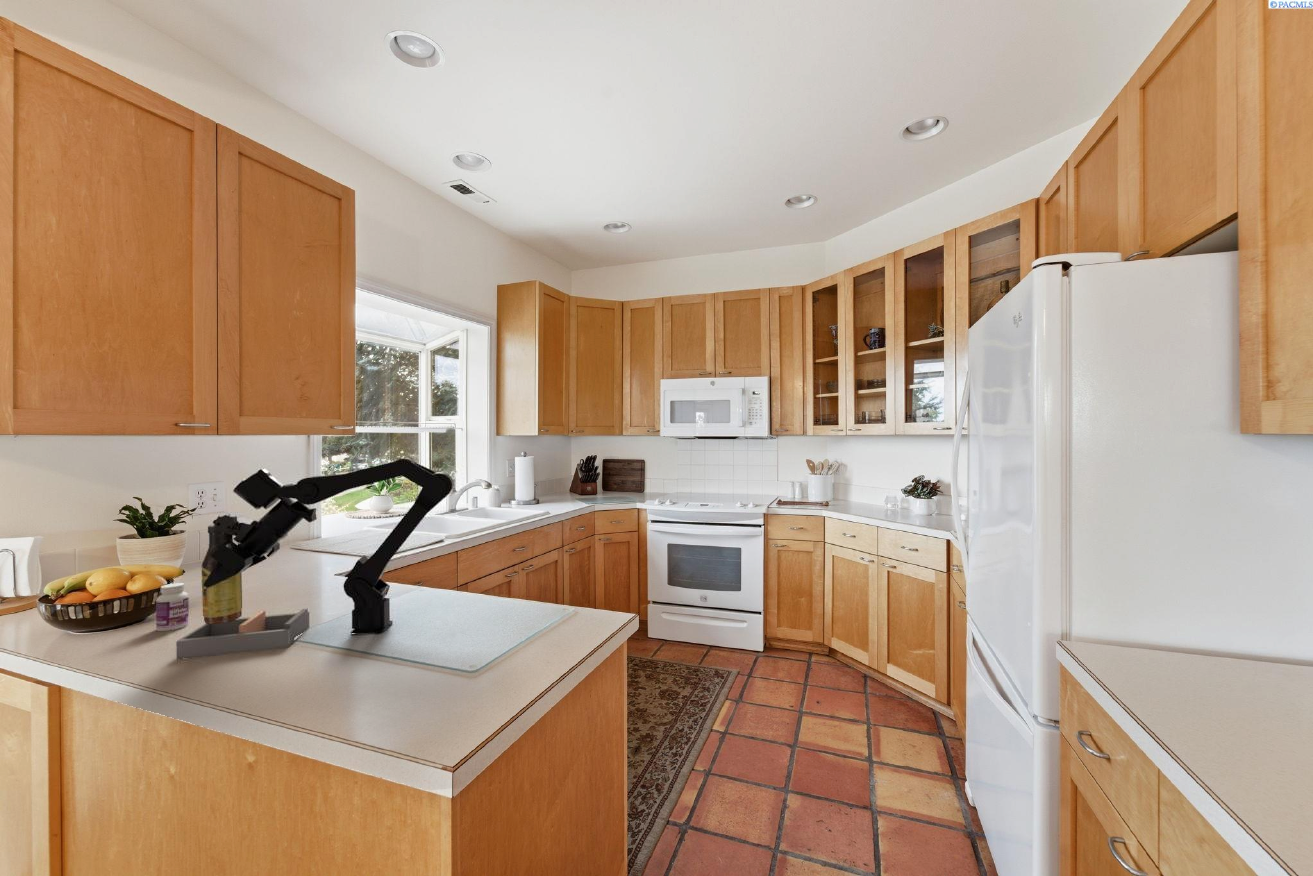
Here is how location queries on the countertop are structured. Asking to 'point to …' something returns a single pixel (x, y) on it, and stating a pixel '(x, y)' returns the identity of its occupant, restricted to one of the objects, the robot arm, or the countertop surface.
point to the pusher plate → (254, 623)
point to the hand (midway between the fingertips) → (213, 582)
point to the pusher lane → (242, 636)
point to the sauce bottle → (220, 586)
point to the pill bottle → (172, 607)
